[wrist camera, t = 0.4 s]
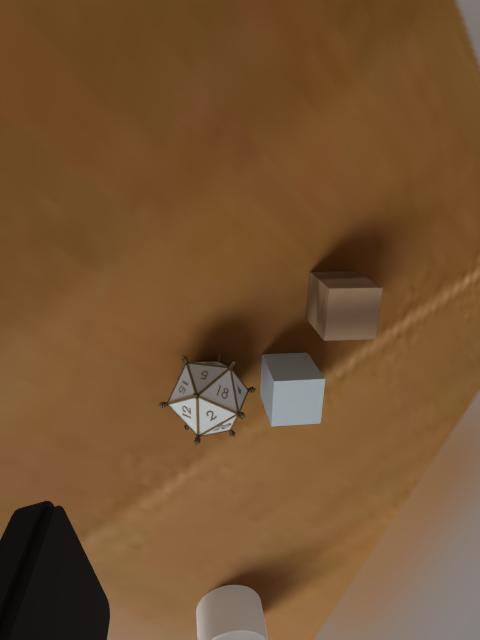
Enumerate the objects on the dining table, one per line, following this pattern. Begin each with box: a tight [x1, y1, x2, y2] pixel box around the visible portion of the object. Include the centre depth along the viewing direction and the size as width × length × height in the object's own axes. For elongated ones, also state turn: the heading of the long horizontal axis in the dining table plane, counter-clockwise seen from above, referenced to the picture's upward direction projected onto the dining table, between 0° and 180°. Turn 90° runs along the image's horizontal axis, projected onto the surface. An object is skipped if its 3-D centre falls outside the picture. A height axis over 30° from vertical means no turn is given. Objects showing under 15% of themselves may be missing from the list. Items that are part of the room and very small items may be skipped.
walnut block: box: [306, 271, 383, 341], centre depth 42 cm, size 5×5×6 cm
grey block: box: [260, 353, 325, 426], centre depth 44 cm, size 5×5×6 cm
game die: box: [158, 355, 256, 445], centre depth 42 cm, size 9×8×10 cm
